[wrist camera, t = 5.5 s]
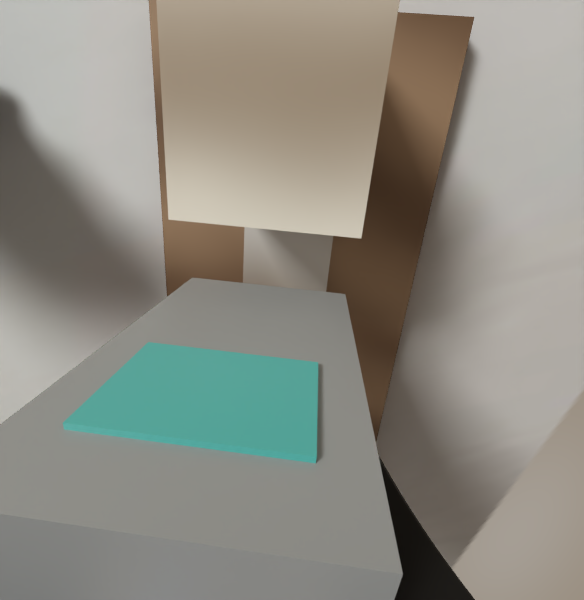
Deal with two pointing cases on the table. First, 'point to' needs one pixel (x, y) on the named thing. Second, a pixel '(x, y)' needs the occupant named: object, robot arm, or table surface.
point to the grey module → (203, 460)
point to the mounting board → (386, 199)
